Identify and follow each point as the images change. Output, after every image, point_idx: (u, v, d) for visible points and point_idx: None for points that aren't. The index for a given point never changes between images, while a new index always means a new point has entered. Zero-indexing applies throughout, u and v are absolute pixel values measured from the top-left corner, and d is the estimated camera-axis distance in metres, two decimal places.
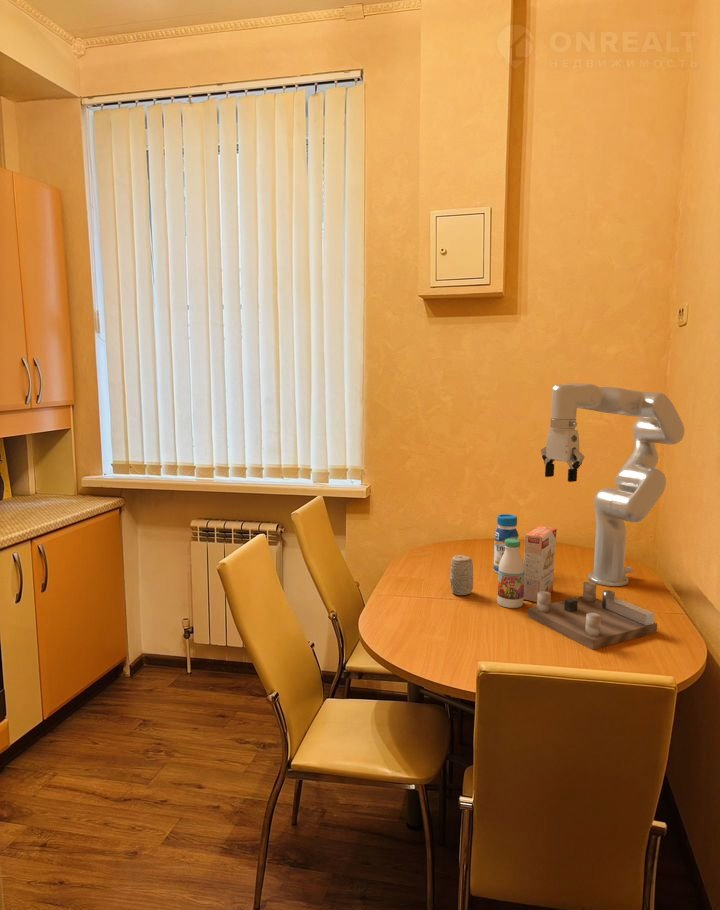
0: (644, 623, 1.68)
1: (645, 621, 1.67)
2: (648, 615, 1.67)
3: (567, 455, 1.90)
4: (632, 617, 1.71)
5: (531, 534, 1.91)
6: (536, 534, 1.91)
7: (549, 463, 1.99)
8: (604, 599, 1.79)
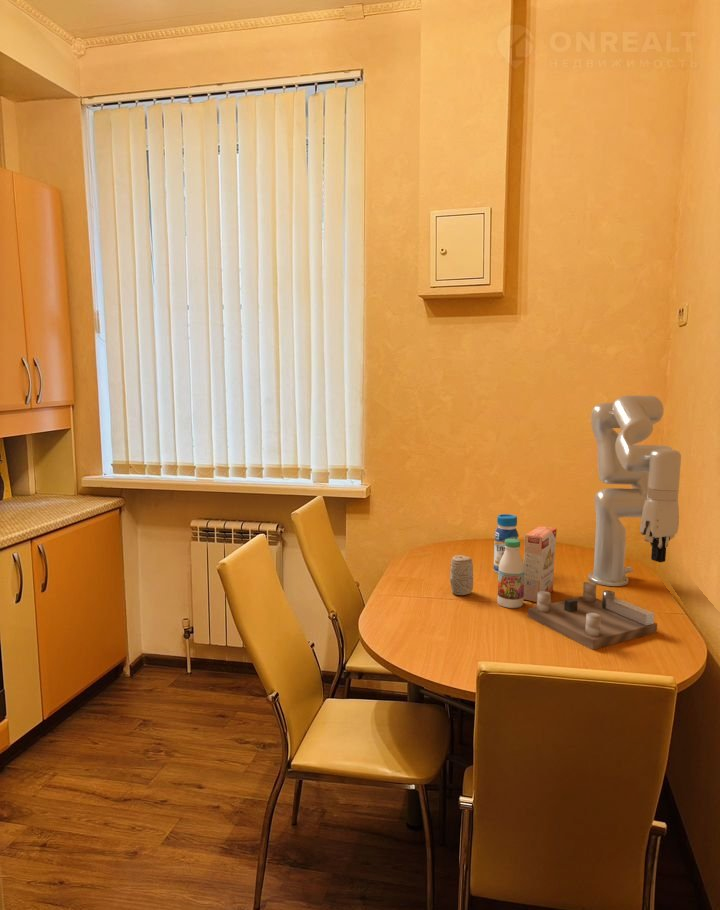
0: (644, 623, 1.68)
1: (645, 621, 1.67)
2: (648, 615, 1.67)
3: (677, 527, 1.70)
4: (632, 617, 1.71)
5: (531, 534, 1.91)
6: (536, 534, 1.91)
7: None
8: (604, 599, 1.79)
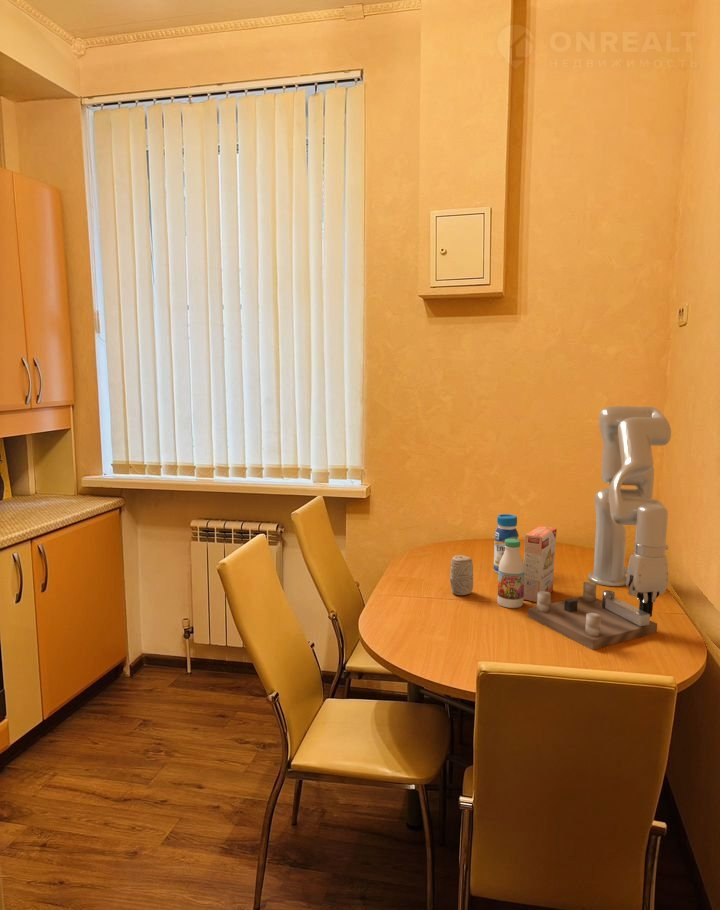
0: (639, 624, 1.67)
1: (640, 622, 1.67)
2: (642, 616, 1.67)
3: (666, 583, 1.69)
4: (628, 617, 1.71)
5: (531, 534, 1.91)
6: (536, 534, 1.91)
7: None
8: (603, 599, 1.80)
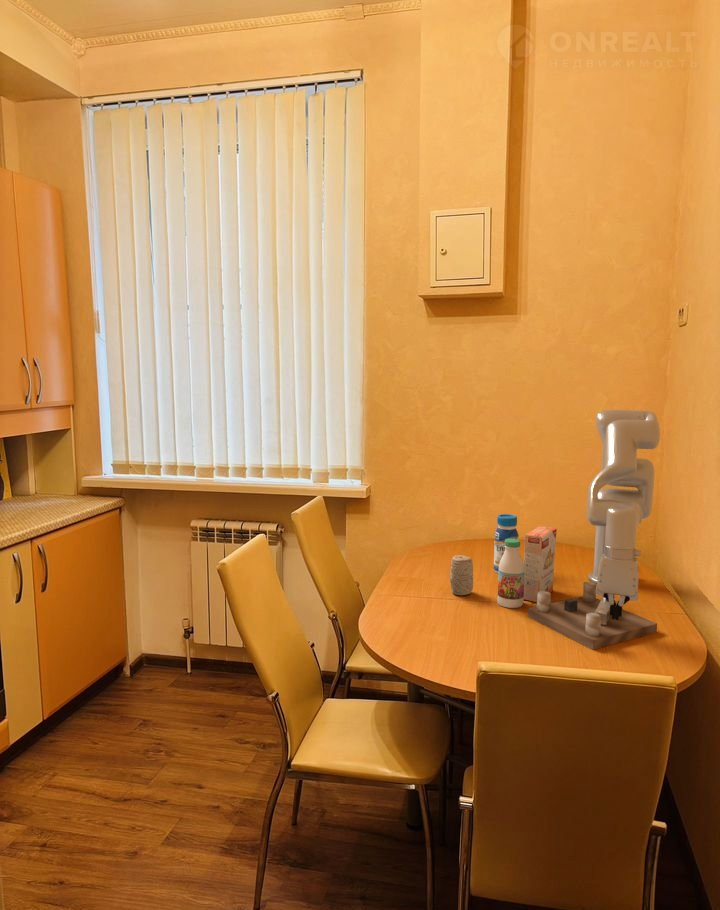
0: None
1: None
2: (597, 613, 1.68)
3: (635, 589, 1.65)
4: None
5: (531, 534, 1.91)
6: (536, 534, 1.90)
7: (615, 603, 1.69)
8: None
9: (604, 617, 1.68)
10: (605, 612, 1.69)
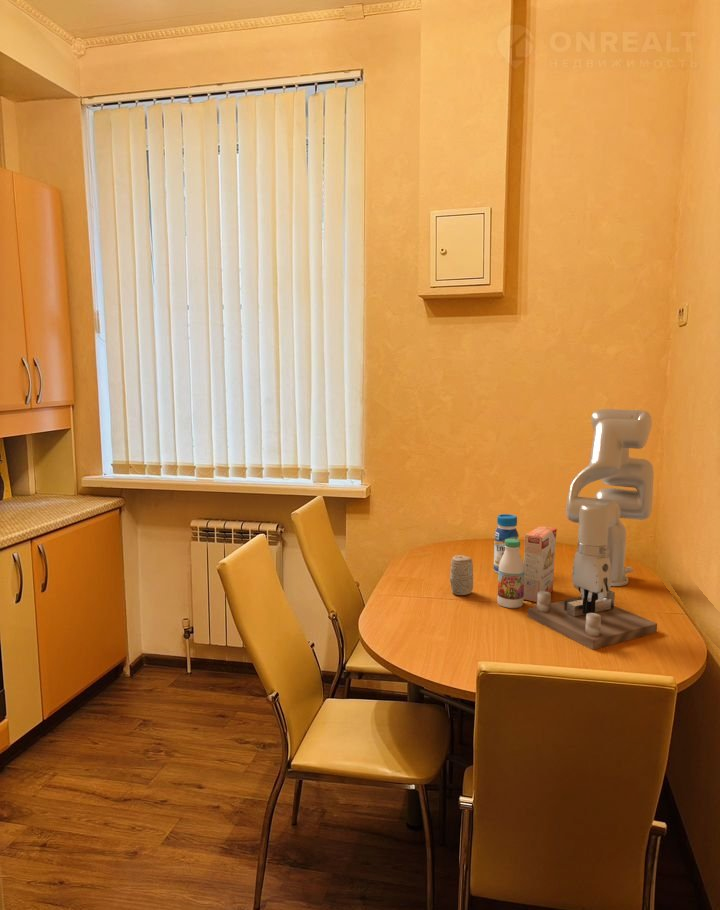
0: None
1: None
2: (568, 604, 1.75)
3: (597, 586, 1.67)
4: None
5: (531, 534, 1.91)
6: (536, 534, 1.91)
7: (587, 598, 1.72)
8: None
9: (573, 608, 1.74)
10: (577, 604, 1.74)
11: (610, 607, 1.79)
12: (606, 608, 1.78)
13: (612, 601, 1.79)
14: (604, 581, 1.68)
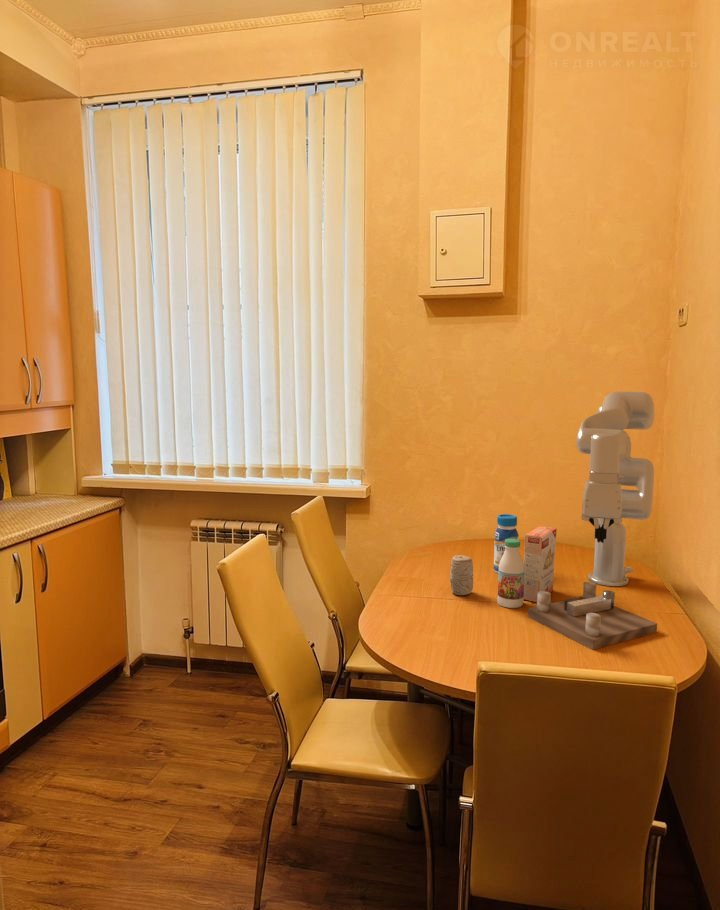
0: None
1: None
2: (568, 604, 1.75)
3: (619, 511, 1.71)
4: None
5: (531, 534, 1.91)
6: (536, 534, 1.90)
7: (599, 526, 1.75)
8: None
9: (573, 608, 1.74)
10: (577, 604, 1.74)
11: (610, 607, 1.79)
12: (606, 608, 1.78)
13: (612, 601, 1.79)
14: None
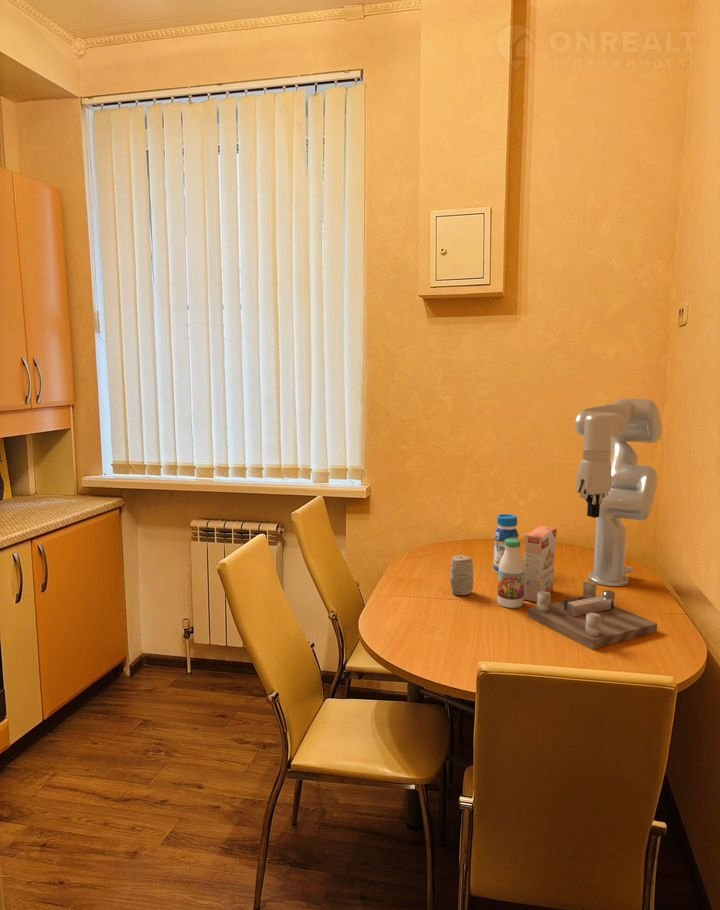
0: None
1: None
2: (568, 604, 1.75)
3: (610, 485, 1.86)
4: None
5: (531, 534, 1.91)
6: (536, 534, 1.91)
7: None
8: None
9: (573, 608, 1.74)
10: (577, 604, 1.74)
11: (610, 607, 1.79)
12: (606, 608, 1.78)
13: (612, 601, 1.79)
14: None
